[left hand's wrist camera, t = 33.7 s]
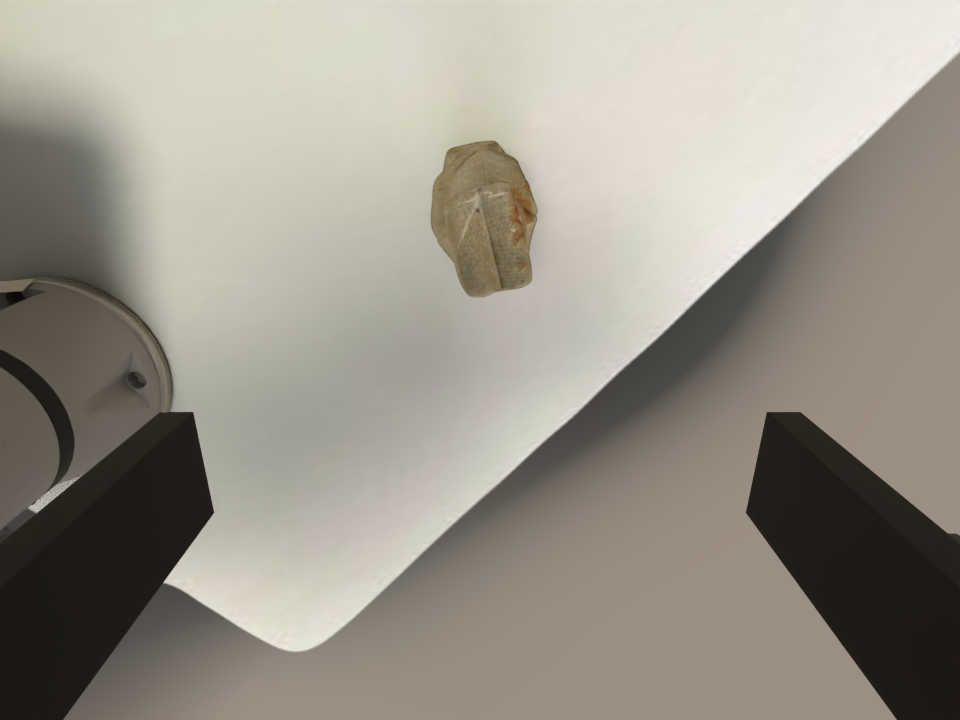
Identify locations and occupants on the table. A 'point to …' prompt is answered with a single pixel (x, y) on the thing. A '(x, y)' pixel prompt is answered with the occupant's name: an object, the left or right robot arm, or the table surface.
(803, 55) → the table surface
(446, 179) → the sculpture
